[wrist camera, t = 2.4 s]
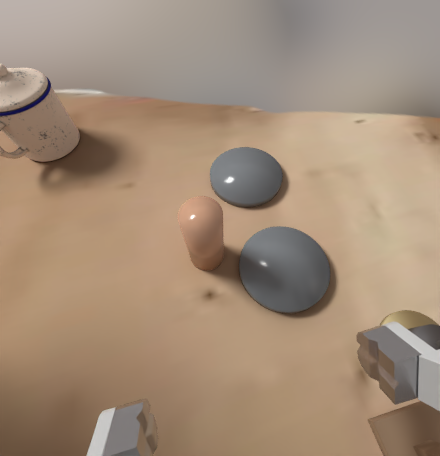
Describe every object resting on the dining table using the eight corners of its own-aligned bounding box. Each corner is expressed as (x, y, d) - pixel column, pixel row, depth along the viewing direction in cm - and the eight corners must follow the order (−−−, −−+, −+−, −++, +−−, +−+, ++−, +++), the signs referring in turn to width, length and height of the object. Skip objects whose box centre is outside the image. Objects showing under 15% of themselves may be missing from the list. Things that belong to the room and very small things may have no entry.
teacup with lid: (45, 120, 43) (-11, 42, 32) (92, 128, 41) (49, 50, 31) (-3, 172, 37) (-89, 98, 27) (50, 184, 36) (-20, 111, 26)
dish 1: (220, 214, 33) (220, 210, 32) (203, 159, 37) (202, 155, 36) (292, 197, 34) (294, 193, 33) (266, 146, 38) (267, 141, 37)
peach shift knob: (194, 274, 29) (182, 239, 21) (187, 243, 31) (174, 201, 23) (227, 265, 29) (228, 228, 21) (219, 236, 31) (216, 192, 23)
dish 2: (255, 324, 26) (256, 323, 25) (228, 241, 31) (229, 237, 30) (343, 299, 27) (347, 297, 26) (304, 222, 32) (306, 218, 31)
